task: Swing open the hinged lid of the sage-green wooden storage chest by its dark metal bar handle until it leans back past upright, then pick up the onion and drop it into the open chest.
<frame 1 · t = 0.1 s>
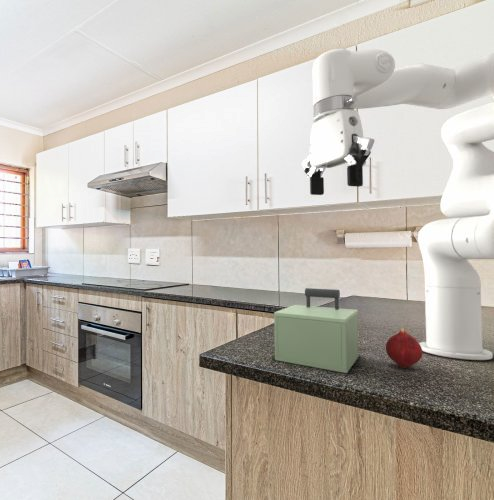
hand: (334, 190, 74), 37 cm above the counter, tool pointing down, fingers open, 9 cm apart
chest: (317, 358, 78), on the counter
lid: (316, 302, 79), point 13 cm above the counter, hinge at 0.0°
onion: (404, 369, 71), on the counter
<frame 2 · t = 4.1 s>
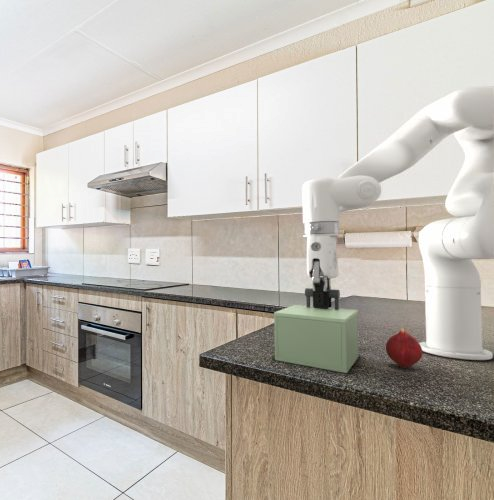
hand: (322, 307, 83), 11 cm above the counter, tool pointing down, fingers closed on lid, 2 cm apart
lid: (316, 302, 79), point 13 cm above the counter, hinge at 0.0°, touching gripper
everything else where it was.
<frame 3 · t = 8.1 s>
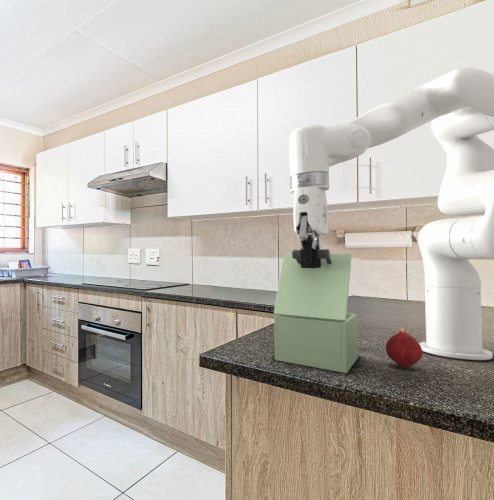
hand: (310, 267, 76), 21 cm above the counter, tool pointing down, fingers closed on lid, 2 cm apart
lid: (309, 280, 75), point 18 cm above the counter, hinge at 58.7°, touching gripper
everything else where it was.
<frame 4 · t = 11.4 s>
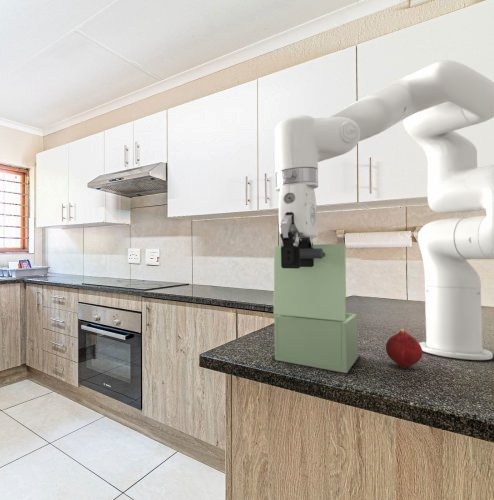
hand: (298, 267, 69), 21 cm above the counter, tool pointing down, fingers open, 9 cm apart
lid: (304, 280, 72), point 18 cm above the counter, hinge at 85.2°, touching gripper
everything else where it was.
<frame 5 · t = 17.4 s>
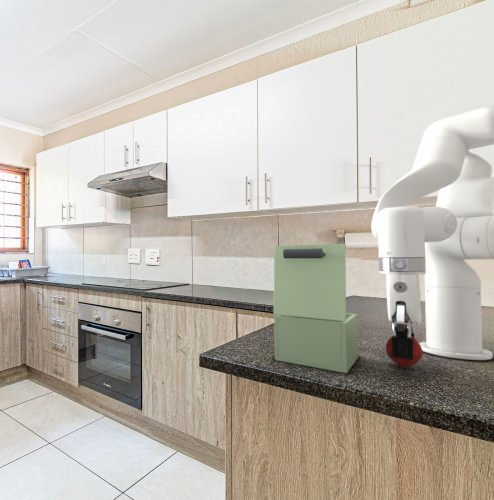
hand: (403, 353, 71), 3 cm above the counter, tool pointing down, fingers closed on onion, 5 cm apart
lid: (304, 280, 72), point 18 cm above the counter, hinge at 85.2°
onion: (404, 369, 71), on the counter, touching gripper
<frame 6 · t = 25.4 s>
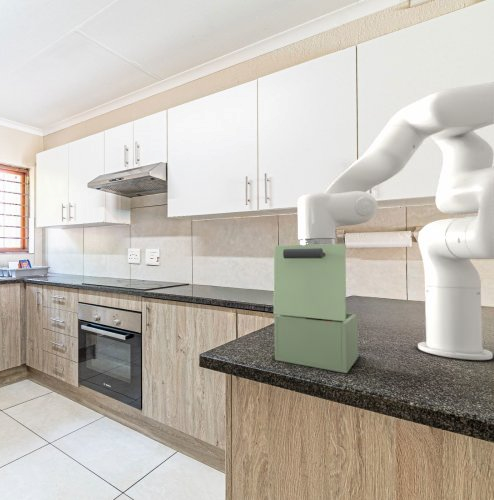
hand: (318, 325, 79), 7 cm above the counter, tool pointing down, fingers closed on onion, 5 cm apart
onion: (318, 339, 79), point 4 cm above the counter, touching gripper
everything else where it was.
when the fingers open (7 cm above the counter, at t = 28.4 s): onion drops 3 cm, resting on chest.
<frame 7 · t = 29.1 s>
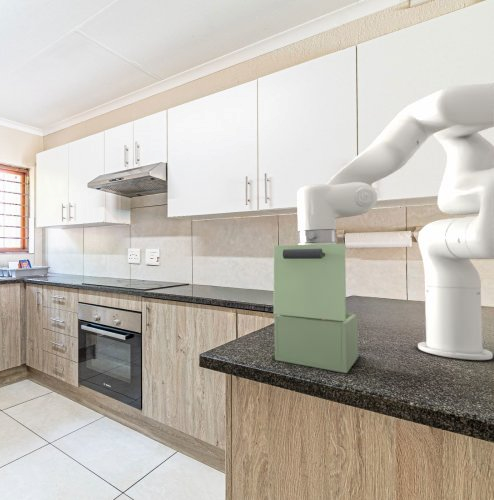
hand: (318, 313, 79), 10 cm above the counter, tool pointing down, fingers open, 9 cm apart
lid: (304, 280, 72), point 18 cm above the counter, hinge at 86.4°
onion: (318, 353, 79), point 1 cm above the counter, touching chest
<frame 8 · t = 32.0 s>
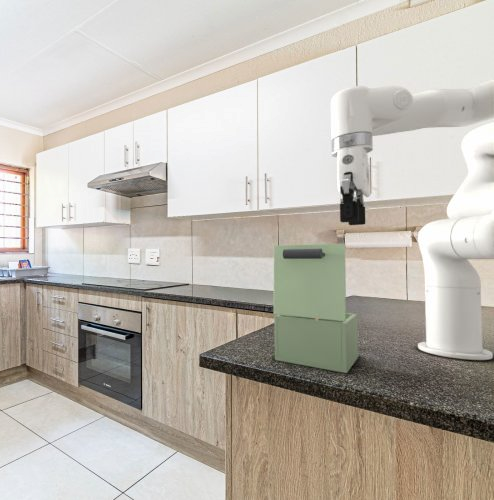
hand: (353, 223, 76), 30 cm above the counter, tool pointing down, fingers open, 9 cm apart
nothing on the counter moved.
at the end: lid at +86° (first picture: +0°); onion inside the target area in the chest (1.4 cm from its centre), point 0.6 cm above the chest's base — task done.
